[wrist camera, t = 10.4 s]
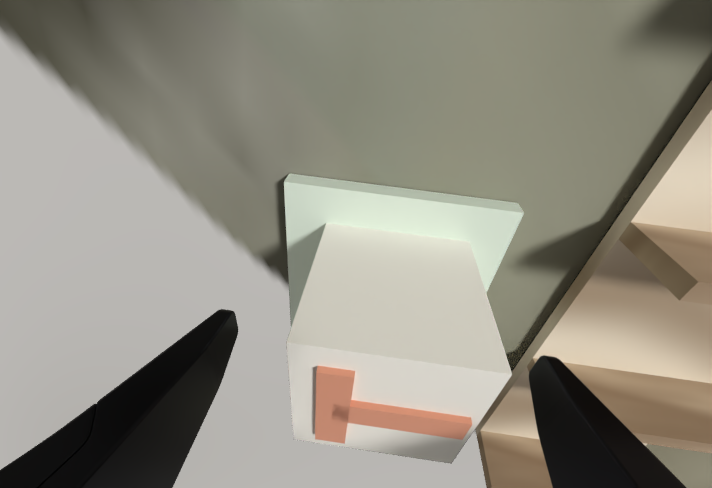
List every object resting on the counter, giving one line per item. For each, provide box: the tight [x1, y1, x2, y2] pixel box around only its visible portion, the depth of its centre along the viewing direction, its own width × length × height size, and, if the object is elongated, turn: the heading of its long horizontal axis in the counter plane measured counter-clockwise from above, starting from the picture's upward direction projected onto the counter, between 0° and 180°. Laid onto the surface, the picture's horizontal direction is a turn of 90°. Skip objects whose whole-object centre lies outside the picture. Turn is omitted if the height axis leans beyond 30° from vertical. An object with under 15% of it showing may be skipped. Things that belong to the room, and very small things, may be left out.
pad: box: [284, 174, 524, 327], centre depth 11 cm, size 7×7×1 cm
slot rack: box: [476, 80, 712, 488], centre depth 10 cm, size 20×8×3 cm, turn 175°
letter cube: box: [286, 223, 512, 463], centre depth 9 cm, size 4×4×5 cm
